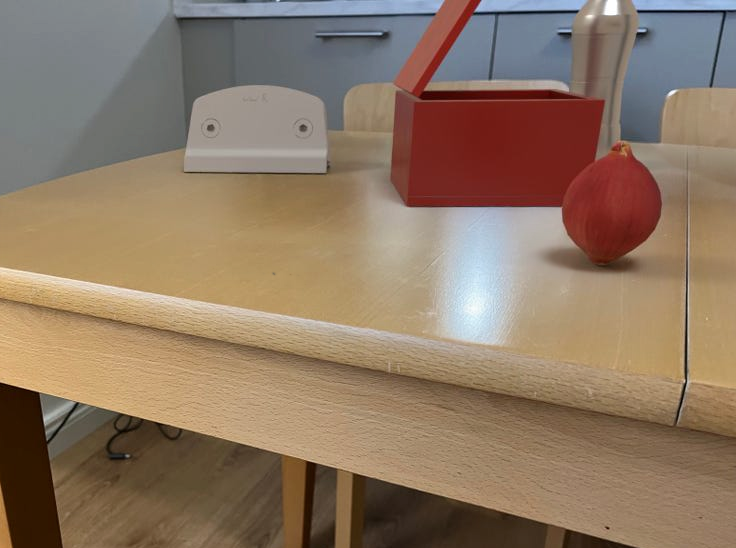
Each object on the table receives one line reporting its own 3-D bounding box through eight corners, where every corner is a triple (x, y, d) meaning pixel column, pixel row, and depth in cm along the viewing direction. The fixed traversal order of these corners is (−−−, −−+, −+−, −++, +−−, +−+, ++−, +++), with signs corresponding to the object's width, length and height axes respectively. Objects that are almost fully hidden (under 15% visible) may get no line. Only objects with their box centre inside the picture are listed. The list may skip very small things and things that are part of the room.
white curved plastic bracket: (180, 171, 84) (182, 80, 84) (189, 178, 89) (191, 92, 88) (329, 173, 82) (333, 79, 82) (330, 180, 87) (334, 92, 86)
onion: (551, 250, 53) (569, 133, 50) (640, 255, 52) (664, 135, 48) (557, 273, 48) (577, 145, 45) (655, 280, 47) (683, 147, 43)
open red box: (543, 180, 78) (556, 89, 74) (587, 206, 66) (605, 99, 63) (390, 180, 79) (395, 90, 75) (407, 206, 67) (414, 101, 63)
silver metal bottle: (618, 171, 82) (655, -36, 74) (552, 169, 84) (581, -33, 76) (613, 162, 87) (647, -31, 79) (551, 160, 89) (578, -29, 81)
